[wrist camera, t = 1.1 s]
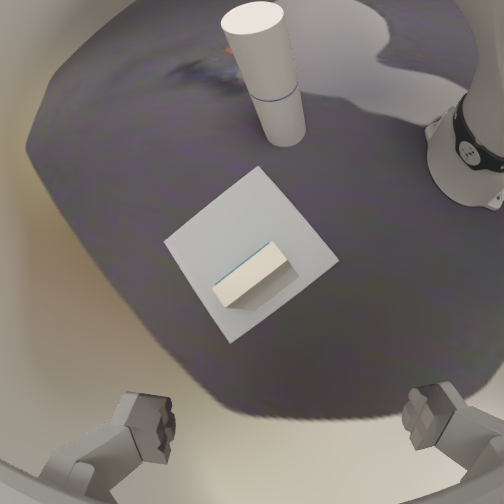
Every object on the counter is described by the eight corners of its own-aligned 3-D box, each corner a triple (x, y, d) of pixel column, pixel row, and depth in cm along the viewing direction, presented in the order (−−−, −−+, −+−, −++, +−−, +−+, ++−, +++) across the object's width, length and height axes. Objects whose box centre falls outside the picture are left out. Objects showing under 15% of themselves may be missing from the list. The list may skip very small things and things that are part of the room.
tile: (287, 261, 45) (270, 238, 32) (299, 277, 44) (287, 259, 31) (244, 295, 46) (210, 286, 32) (255, 310, 45) (224, 307, 31)
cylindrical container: (259, 142, 51) (210, 34, 27) (272, 111, 52) (234, 1, 28) (299, 151, 49) (272, 35, 25) (310, 118, 50) (291, 2, 26)
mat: (259, 168, 50) (258, 165, 49) (338, 261, 44) (339, 260, 43) (166, 242, 51) (163, 241, 51) (231, 343, 45) (230, 343, 45)
